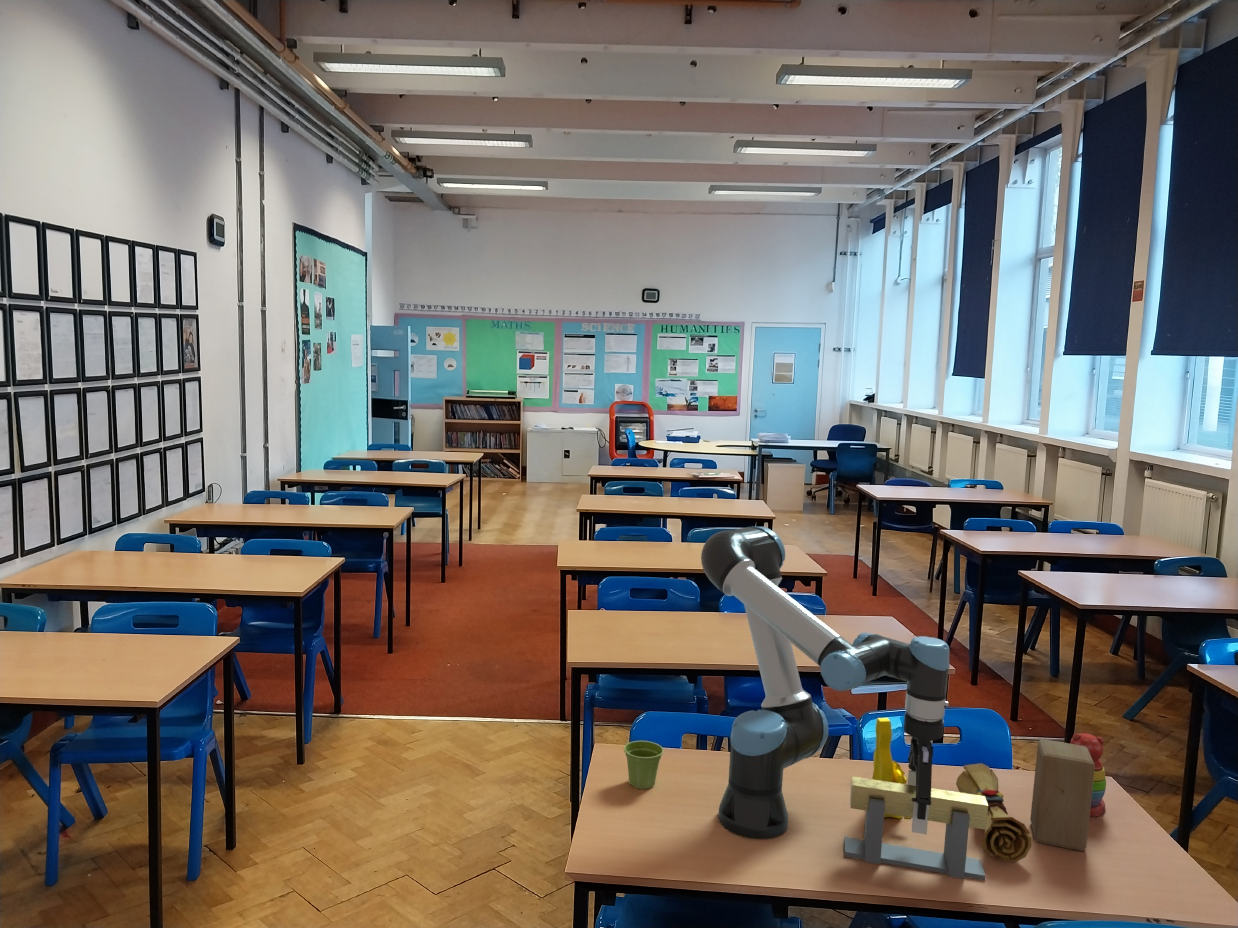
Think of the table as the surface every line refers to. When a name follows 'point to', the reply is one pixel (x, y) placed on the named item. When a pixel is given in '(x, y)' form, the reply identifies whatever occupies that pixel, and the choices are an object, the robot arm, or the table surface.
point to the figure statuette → (886, 758)
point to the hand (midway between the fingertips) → (915, 816)
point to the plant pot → (642, 763)
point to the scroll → (995, 815)
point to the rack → (945, 862)
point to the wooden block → (1062, 794)
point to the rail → (902, 805)
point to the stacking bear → (1099, 773)
